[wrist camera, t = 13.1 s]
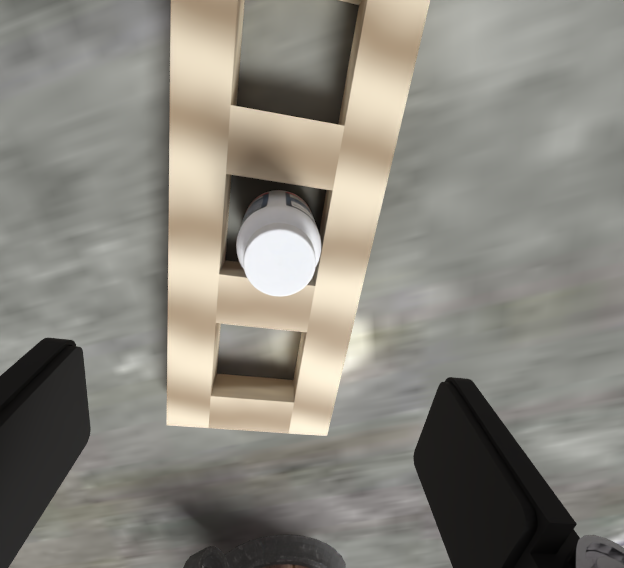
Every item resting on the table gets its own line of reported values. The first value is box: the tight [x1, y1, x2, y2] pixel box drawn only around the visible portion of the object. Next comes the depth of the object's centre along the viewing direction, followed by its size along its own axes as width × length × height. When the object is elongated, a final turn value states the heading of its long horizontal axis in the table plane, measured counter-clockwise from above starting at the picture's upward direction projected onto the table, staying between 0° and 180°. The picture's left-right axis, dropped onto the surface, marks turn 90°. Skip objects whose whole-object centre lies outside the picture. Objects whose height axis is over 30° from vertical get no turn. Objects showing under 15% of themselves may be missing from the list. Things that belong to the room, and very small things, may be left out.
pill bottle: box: [236, 190, 321, 297], centre depth 24 cm, size 5×5×9 cm
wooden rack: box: [167, 0, 430, 436], centre depth 26 cm, size 36×14×3 cm, turn 171°
